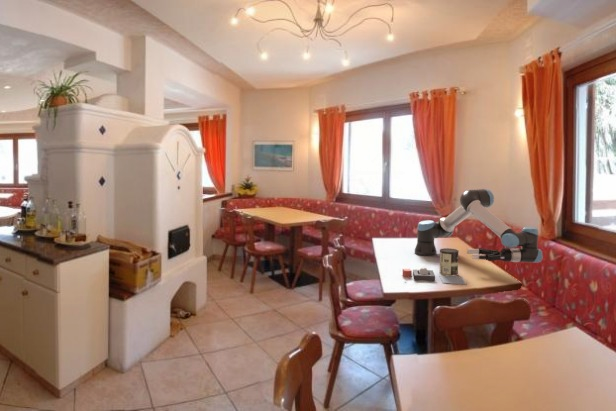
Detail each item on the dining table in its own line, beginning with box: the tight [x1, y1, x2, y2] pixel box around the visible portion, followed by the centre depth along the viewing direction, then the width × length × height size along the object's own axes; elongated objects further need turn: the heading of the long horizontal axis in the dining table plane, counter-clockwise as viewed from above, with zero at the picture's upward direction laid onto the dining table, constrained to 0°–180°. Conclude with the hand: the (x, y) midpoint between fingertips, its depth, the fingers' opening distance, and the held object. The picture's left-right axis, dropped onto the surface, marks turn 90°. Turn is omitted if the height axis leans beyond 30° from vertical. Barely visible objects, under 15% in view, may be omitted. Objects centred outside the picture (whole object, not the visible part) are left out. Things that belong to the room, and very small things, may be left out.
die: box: [402, 268, 413, 279], centre depth 205 cm, size 4×4×4 cm
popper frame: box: [412, 269, 436, 282], centre depth 201 cm, size 11×11×3 cm
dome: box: [419, 267, 429, 275], centre depth 201 cm, size 5×5×5 cm
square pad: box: [438, 275, 467, 285], centre depth 196 cm, size 12×12×1 cm
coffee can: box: [439, 247, 460, 277], centre depth 208 cm, size 10×10×14 cm
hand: (469, 253), depth 204 cm, fingers open, 13 cm apart
